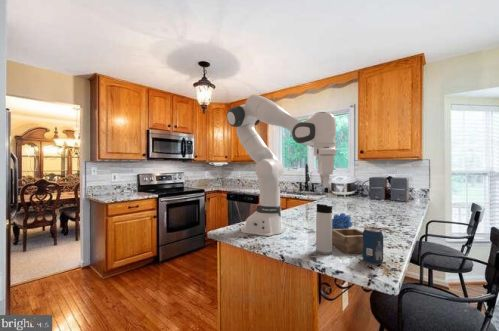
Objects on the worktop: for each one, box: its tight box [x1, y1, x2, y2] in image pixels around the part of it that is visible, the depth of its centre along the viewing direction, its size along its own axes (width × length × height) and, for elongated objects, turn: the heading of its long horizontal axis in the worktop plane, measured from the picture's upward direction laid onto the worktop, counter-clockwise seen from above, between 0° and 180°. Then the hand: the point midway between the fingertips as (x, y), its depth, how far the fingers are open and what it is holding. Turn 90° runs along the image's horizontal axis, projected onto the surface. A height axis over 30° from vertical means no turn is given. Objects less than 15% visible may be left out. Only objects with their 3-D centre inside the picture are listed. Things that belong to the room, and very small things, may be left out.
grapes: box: [332, 212, 353, 229], centre depth 120 cm, size 12×7×12 cm, turn 82°
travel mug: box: [315, 203, 333, 256], centre depth 96 cm, size 6×7×20 cm
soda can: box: [361, 227, 384, 265], centre depth 88 cm, size 7×7×12 cm
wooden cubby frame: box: [332, 228, 363, 254], centre depth 102 cm, size 12×11×7 cm
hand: (324, 185), depth 96 cm, fingers open, 8 cm apart
